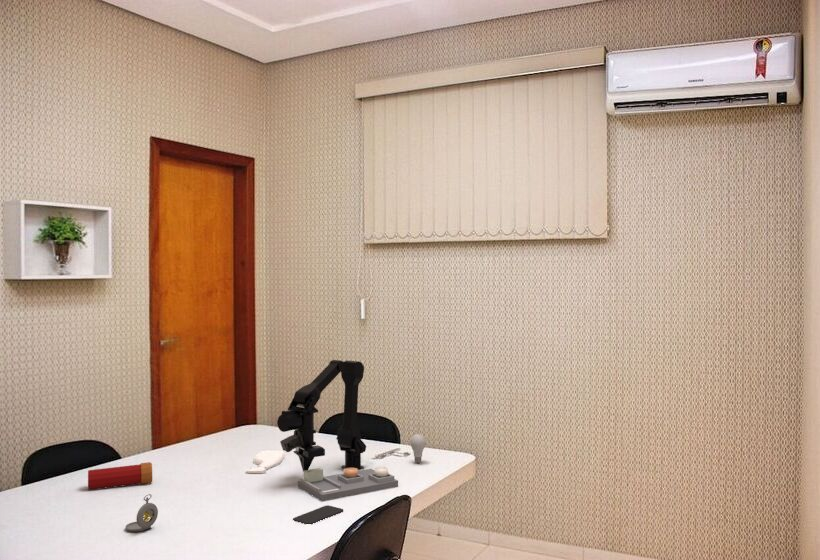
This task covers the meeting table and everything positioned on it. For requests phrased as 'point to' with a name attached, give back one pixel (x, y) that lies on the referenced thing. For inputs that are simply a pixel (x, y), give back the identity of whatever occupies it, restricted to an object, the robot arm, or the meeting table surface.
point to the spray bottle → (266, 461)
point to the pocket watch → (148, 511)
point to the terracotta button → (350, 472)
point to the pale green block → (313, 475)
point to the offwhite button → (381, 471)
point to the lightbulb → (417, 446)
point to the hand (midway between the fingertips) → (305, 472)
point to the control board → (347, 485)
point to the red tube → (120, 476)
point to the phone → (318, 514)
